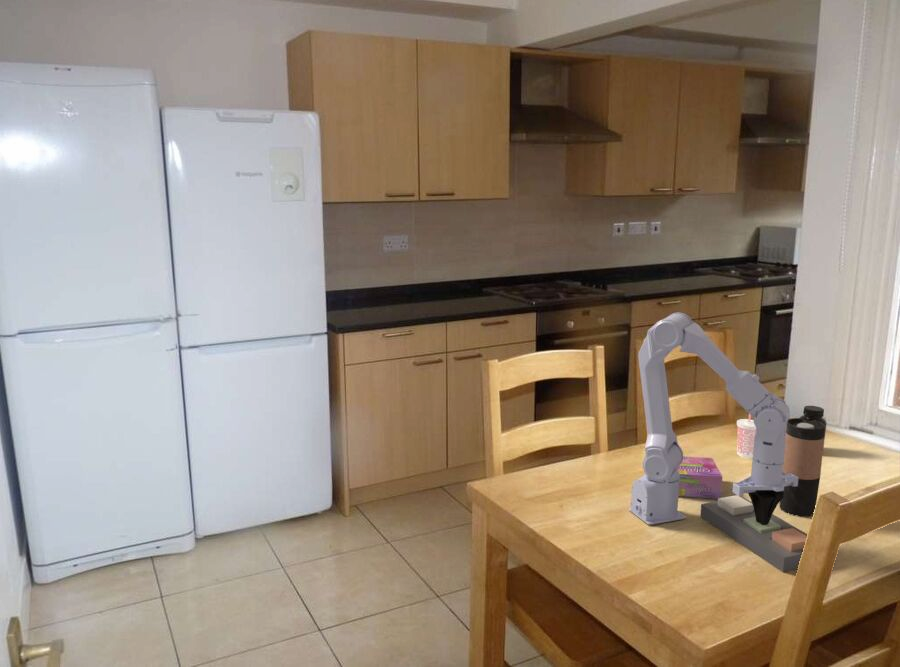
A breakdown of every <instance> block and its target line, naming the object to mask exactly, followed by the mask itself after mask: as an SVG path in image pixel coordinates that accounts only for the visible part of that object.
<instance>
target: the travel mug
mask: <svg viewBox="0 0 900 667" xmlns="http://www.w3.org/2000/svg"><path fill="white" fill-rule="evenodd" d="M824 434H825V435H826V433H825V425H824V424H823V423H821V422H819V421H815V420H813V421H811V422H808V421H803V420H802V419H801V418H800V417H795V418H789V420H788V421H787V424H786V436H785V439H786V445H785V455H784V464H783V474H793V475H795V476H797V477H798V486H795V487H793V486H785V487H784V490H783V491H782V492H783V493H784V498H783V499H782V500H781V501H780V502H779V508H780V510H781V511H783V512H784V513H786V514H788V513H789V515H791V514H793V515H792V516H795V515H798V516H797V517H802V516H806V517H812V516H813V515H814V514H813V512H814V509H815V510H816V508H815V505H816V506H817V501H818V493H819V487H820V482H821V481H820V480H821V474H822V473H821V472H822V471H821V470H822V462H823V453H824V448H823V444H824V445H825V440H824Z"/></svg>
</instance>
